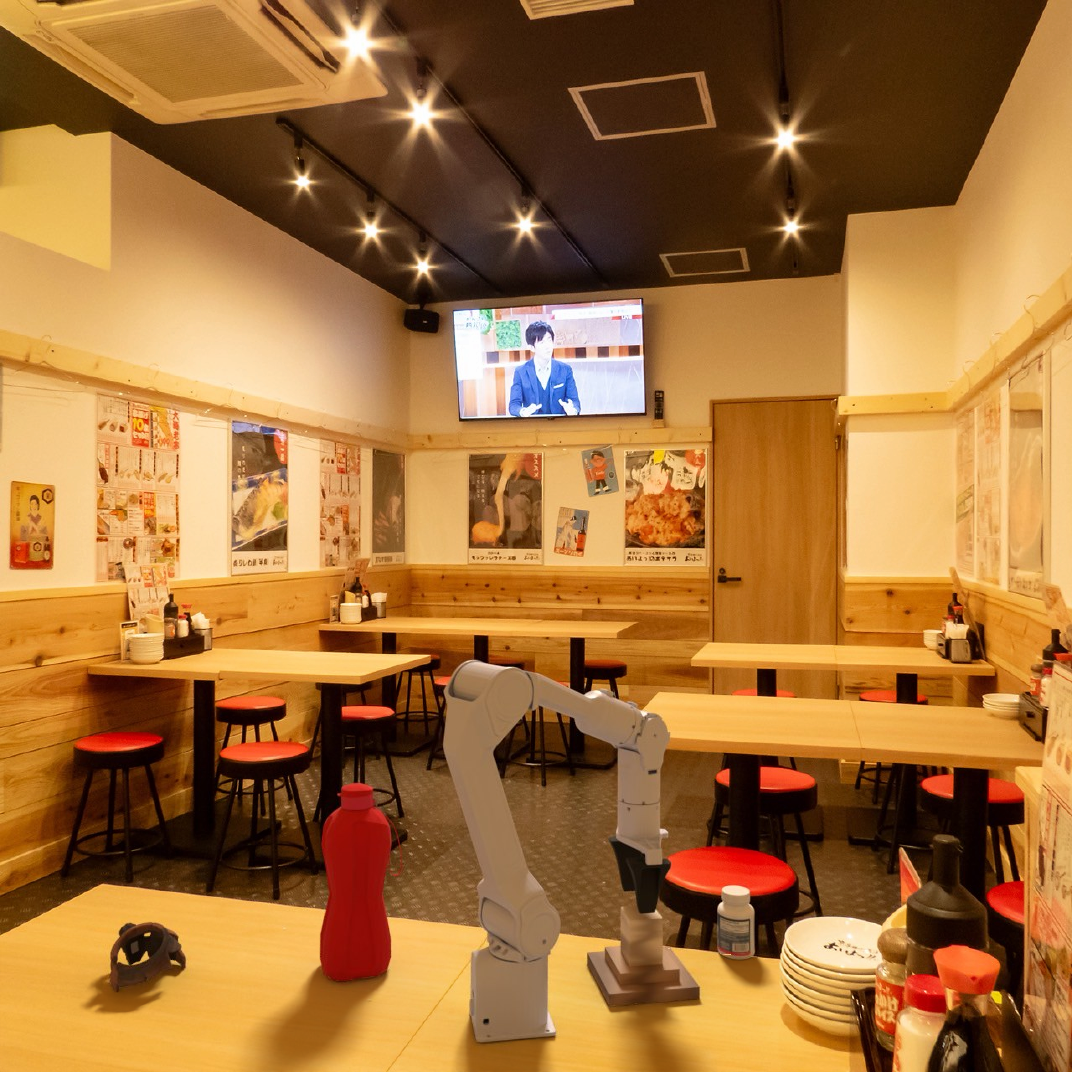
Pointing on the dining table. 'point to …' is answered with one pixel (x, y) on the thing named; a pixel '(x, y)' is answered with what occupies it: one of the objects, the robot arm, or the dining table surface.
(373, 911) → the water bottle
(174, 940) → the dark brown ring housing
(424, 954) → the dining table surface
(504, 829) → the robot arm
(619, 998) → the walnut pedestal
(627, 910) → the oak block
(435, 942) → the dining table surface
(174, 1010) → the dining table surface
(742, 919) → the pill bottle
